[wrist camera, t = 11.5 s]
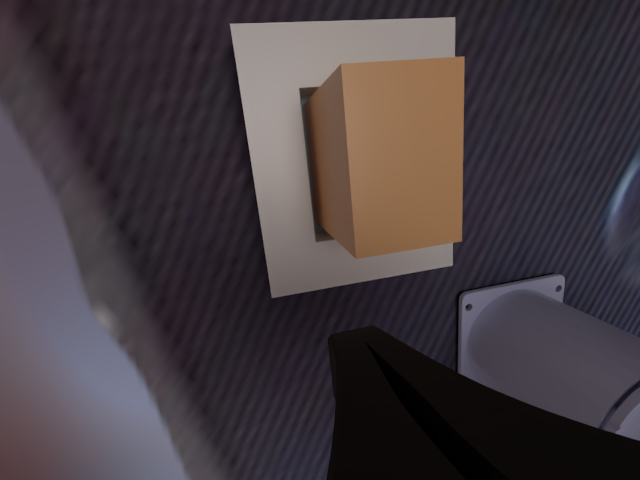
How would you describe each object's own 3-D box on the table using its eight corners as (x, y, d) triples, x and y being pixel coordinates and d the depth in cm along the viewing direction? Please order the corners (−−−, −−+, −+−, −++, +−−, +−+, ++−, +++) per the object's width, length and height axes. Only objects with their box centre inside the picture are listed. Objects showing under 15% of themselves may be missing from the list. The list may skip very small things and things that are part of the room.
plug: (384, 211, 18) (461, 241, 11) (316, 221, 17) (356, 259, 11) (378, 98, 16) (464, 56, 10) (303, 104, 16) (340, 63, 9)
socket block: (428, 253, 20) (452, 265, 18) (269, 280, 18) (272, 297, 16) (426, 37, 17) (455, 17, 14) (233, 45, 15) (229, 23, 13)
